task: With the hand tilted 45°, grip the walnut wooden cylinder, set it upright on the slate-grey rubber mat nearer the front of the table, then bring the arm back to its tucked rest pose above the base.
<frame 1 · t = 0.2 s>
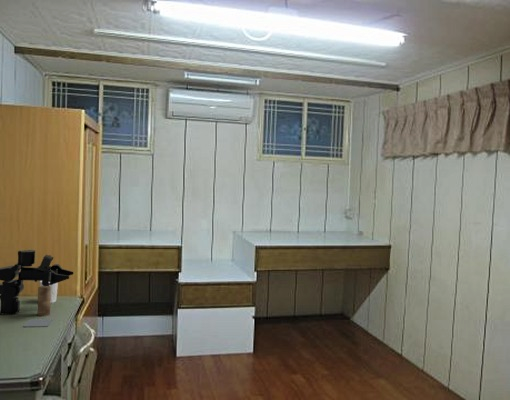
hand: (71, 275, 207), 16 cm above the table, tool horizontal, fingers open, 9 cm apart
walnut cylinder: (43, 314, 202), on the table
white cup: (48, 302, 223), on the table
slate mat: (38, 323, 189), on the table
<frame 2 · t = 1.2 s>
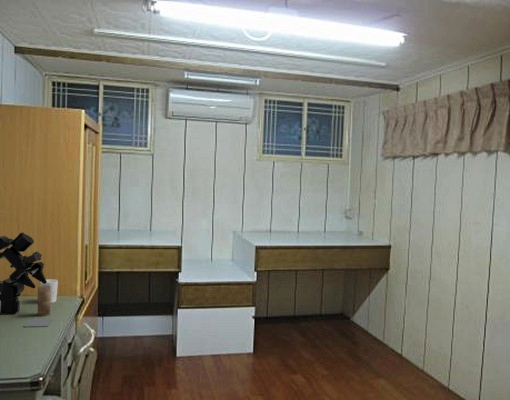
hand: (40, 285, 201), 13 cm above the table, tool tilted 45°, fingers open, 9 cm apart
nothing on the table moved.
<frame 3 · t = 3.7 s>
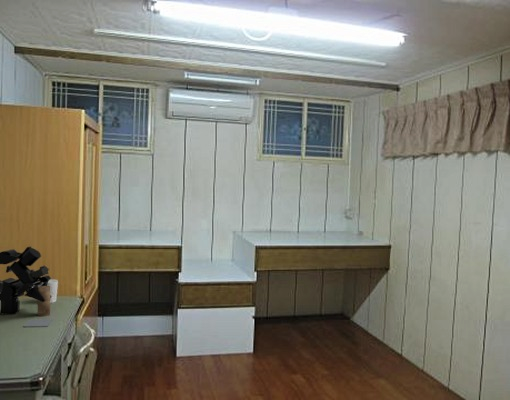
hand: (47, 299, 201), 7 cm above the table, tool tilted 45°, fingers closed on walnut cylinder, 5 cm apart
walnut cylinder: (43, 314, 202), on the table, touching gripper
everything else where it was.
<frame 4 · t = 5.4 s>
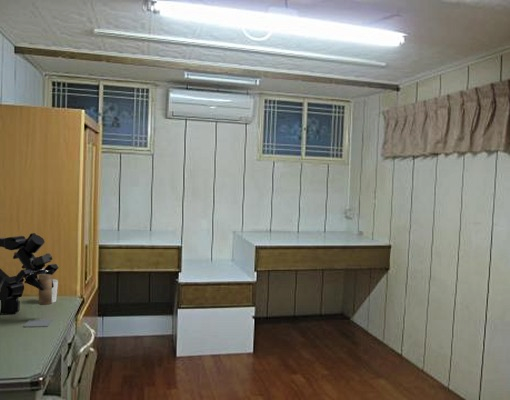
hand: (48, 288, 194), 13 cm above the table, tool tilted 45°, fingers closed on walnut cylinder, 5 cm apart
walnut cylinder: (45, 303, 195), point 7 cm above the table, touching gripper
everything else where it was.
when the fingers open (8 cm above the table, at t = 7.6 s): walnut cylinder drops 1 cm, resting on slate mat.
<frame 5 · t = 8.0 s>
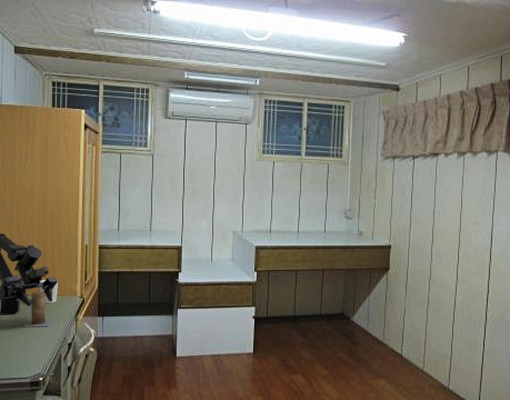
hand: (40, 303, 188), 9 cm above the table, tool tilted 45°, fingers open, 9 cm apart
walnut cylinder: (38, 322, 189), point 1 cm above the table, touching slate mat
everything else where it was.
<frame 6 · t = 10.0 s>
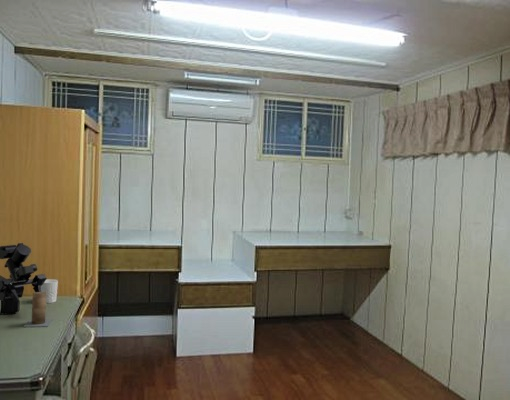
hand: (29, 299, 193), 9 cm above the table, tool tilted 45°, fingers open, 9 cm apart
nothing on the table moved.
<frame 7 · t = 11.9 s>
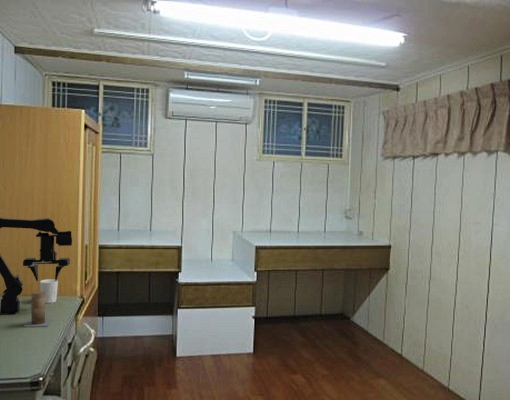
hand: (46, 280, 209), 13 cm above the table, tool pointing down, fingers open, 8 cm apart
nothing on the table moved.
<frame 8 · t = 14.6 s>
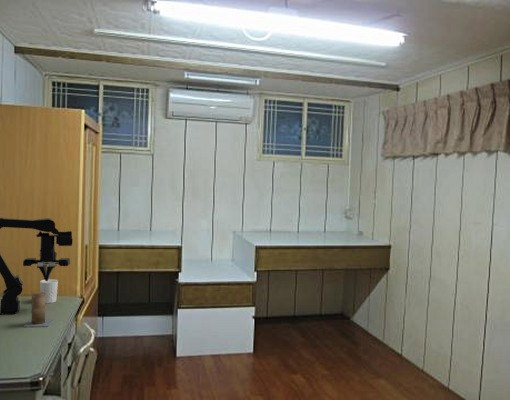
hand: (46, 280, 209), 13 cm above the table, tool pointing down, fingers closed
nothing on the table moved.
at the end: walnut cylinder inside the target area on the slate mat (0.1 cm from its centre), point 0.5 cm above the slate mat's base; walnut cylinder tilted 1°; the gripper is holding nothing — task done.
